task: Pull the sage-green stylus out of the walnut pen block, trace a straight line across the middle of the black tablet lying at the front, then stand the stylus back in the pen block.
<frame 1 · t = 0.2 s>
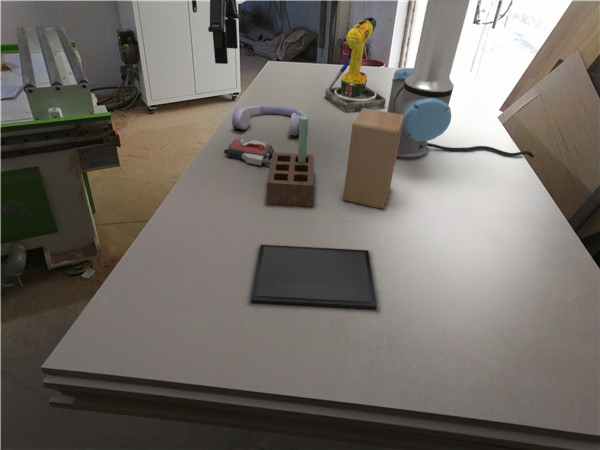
hand: (227, 55, 96), 28 cm above the table, tool pointing down, fingers open, 13 cm apart
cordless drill: (355, 102, 154), on the table
wooden block: (366, 195, 101), on the table
pen block: (291, 188, 102), on the table
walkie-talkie: (259, 159, 114), on the table
stylus: (300, 179, 106), resting in pen block
tablet: (313, 276, 77), on the table
headphones: (273, 125, 133), on the table
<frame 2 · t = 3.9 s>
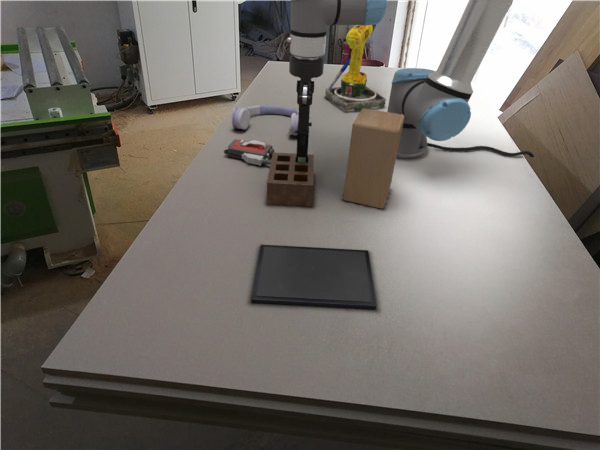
hand: (302, 154, 101), 7 cm above the table, tool pointing down, fingers closed on stylus, 2 cm apart
stylus: (300, 179, 106), resting in pen block, touching gripper
everything else where it was.
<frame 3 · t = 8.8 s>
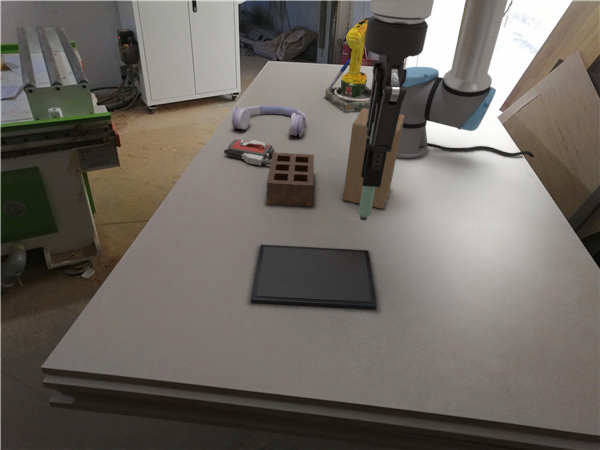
hand: (370, 180, 64), 21 cm above the table, tool pointing down, fingers closed on stylus, 2 cm apart
stylus: (363, 218, 69), point 14 cm above the table, touching gripper
everything else where it was.
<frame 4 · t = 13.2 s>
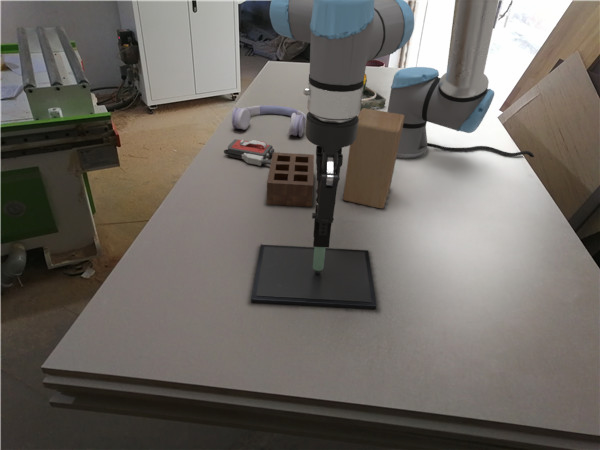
hand: (321, 240, 72), 9 cm above the table, tool pointing down, fingers closed on stylus, 2 cm apart
stylus: (317, 271, 76), point 1 cm above the table, touching gripper
everything else where it was.
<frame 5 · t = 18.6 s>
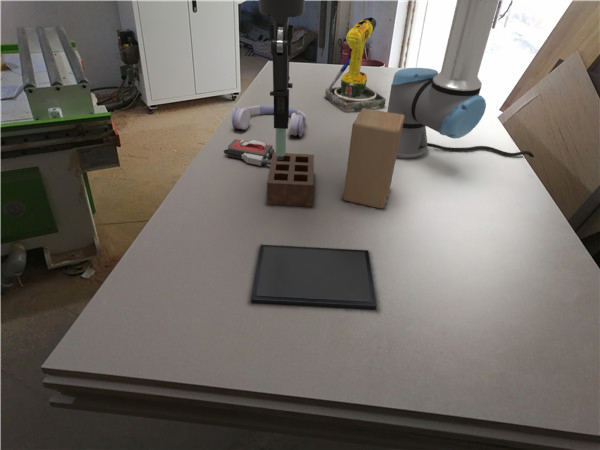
hand: (281, 124, 79), 22 cm above the table, tool pointing down, fingers closed on stylus, 2 cm apart
stylus: (280, 158, 84), point 14 cm above the table, touching gripper
everything else where it was.
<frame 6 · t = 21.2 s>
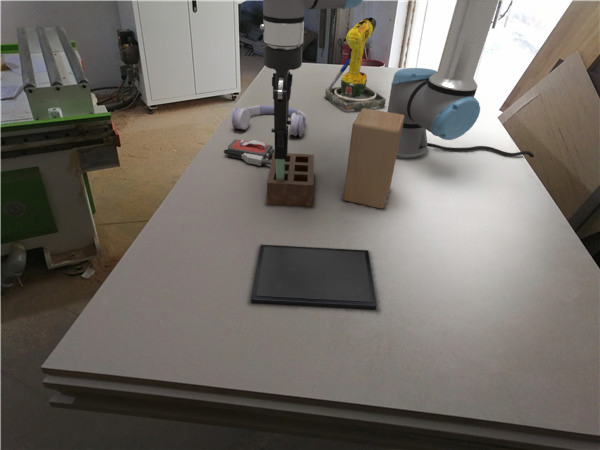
hand: (281, 155, 91), 12 cm above the table, tool pointing down, fingers closed on stylus, 2 cm apart
stylus: (280, 183, 96), point 4 cm above the table, touching gripper
everything else where it was.
when the fingers open (7 cm above the table, at t = 22.8 s): stylus stays where it is, resting in pen block.
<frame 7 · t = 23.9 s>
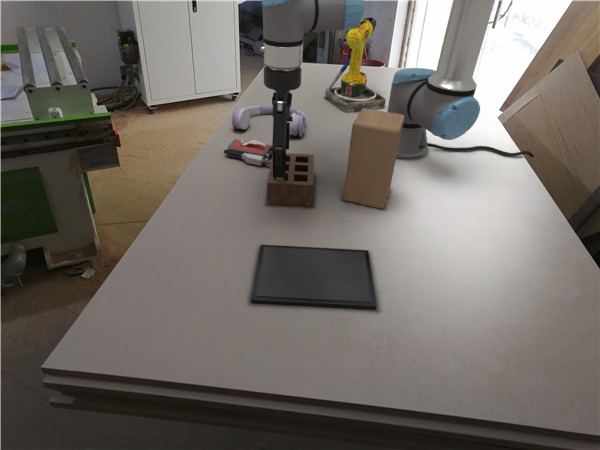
hand: (281, 162, 92), 10 cm above the table, tool pointing down, fingers open, 13 cm apart
stylus: (279, 198, 98), resting in pen block
everything else where it was.
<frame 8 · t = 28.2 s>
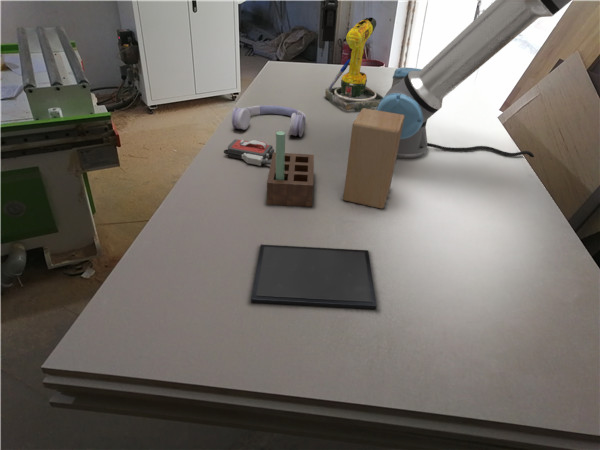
hand: (327, 34, 100), 32 cm above the table, tool pointing down, fingers open, 13 cm apart
nothing on the table moved.
at the end: stylus 0.2 cm from the target spot in the pen block, point 0.0 cm above the pen block's base; stylus tilted 0°; stylus touching table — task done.
